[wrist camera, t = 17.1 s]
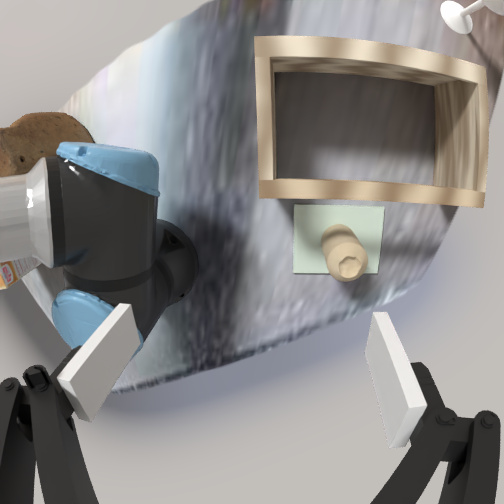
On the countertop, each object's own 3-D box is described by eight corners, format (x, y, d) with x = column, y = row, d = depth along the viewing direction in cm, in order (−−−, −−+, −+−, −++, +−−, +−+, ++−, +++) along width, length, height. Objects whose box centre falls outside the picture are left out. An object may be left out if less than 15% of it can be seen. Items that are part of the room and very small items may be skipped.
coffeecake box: (30, 256, 56) (-30, 296, 38) (20, 226, 53) (-44, 259, 35) (74, 245, 53) (7, 290, 35) (63, 210, 51) (-10, 246, 33)
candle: (318, 226, 46) (325, 250, 37) (353, 221, 45) (369, 243, 36) (322, 259, 48) (330, 290, 39) (356, 254, 47) (371, 283, 38)
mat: (292, 271, 50) (292, 272, 50) (293, 204, 46) (294, 205, 46) (376, 272, 49) (377, 273, 48) (383, 206, 45) (384, 207, 44)
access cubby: (266, 181, 45) (259, 198, 33) (263, 62, 39) (254, 36, 27) (440, 188, 42) (483, 208, 30) (441, 79, 36) (485, 67, 24)
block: (102, 155, 46) (19, 174, 28) (75, 178, 48) (-6, 207, 30) (78, 106, 43) (-7, 107, 25) (52, 131, 45) (-30, 143, 27)
